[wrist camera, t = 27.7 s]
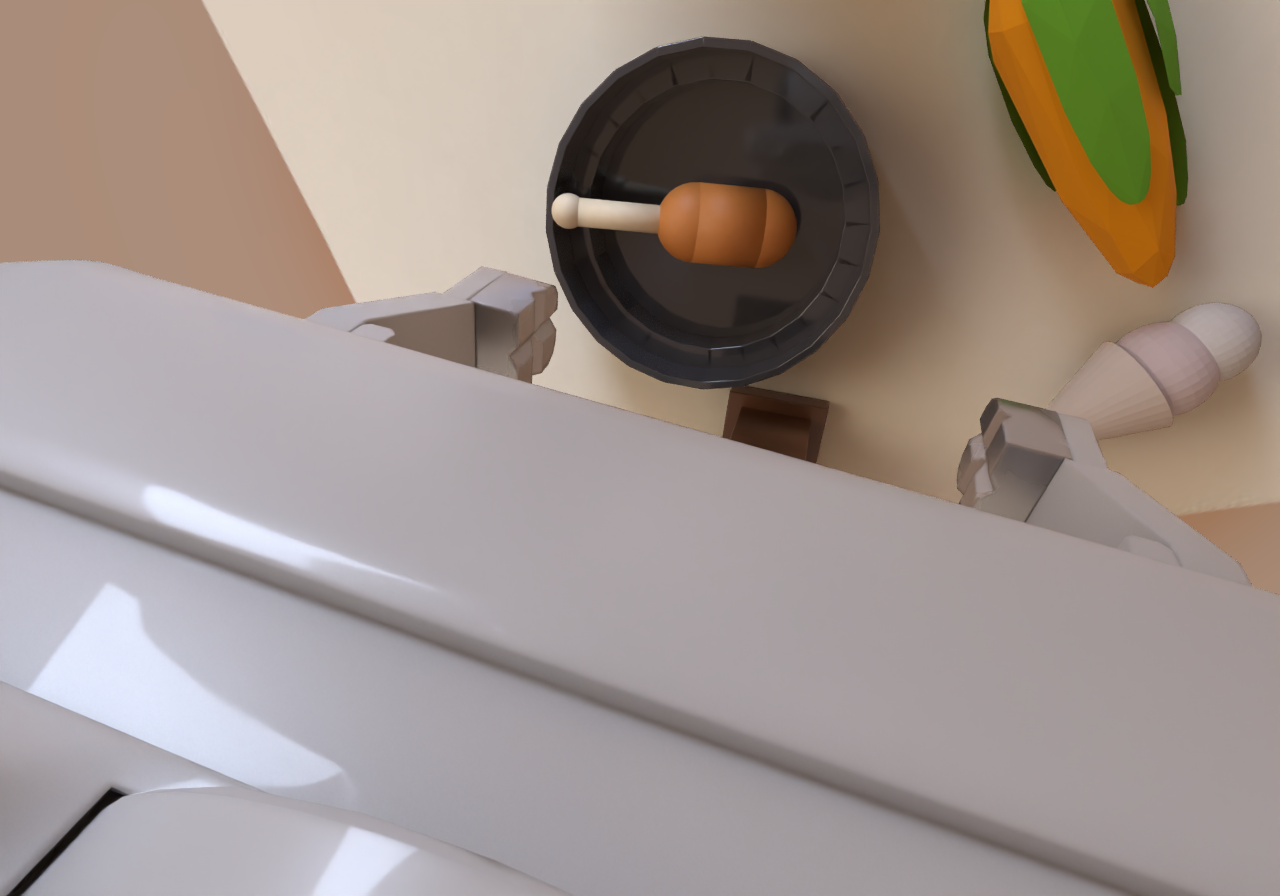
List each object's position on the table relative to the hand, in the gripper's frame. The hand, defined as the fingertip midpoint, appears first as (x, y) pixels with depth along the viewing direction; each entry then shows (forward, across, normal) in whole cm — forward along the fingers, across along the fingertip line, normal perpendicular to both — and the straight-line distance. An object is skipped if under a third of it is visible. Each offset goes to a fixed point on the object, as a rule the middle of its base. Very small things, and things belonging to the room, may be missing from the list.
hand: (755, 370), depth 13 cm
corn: (+37, -12, -1) cm, 39 cm away
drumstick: (+33, +9, +9) cm, 36 cm away
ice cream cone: (+35, -20, +13) cm, 43 cm away
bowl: (+35, +7, +9) cm, 37 cm away
